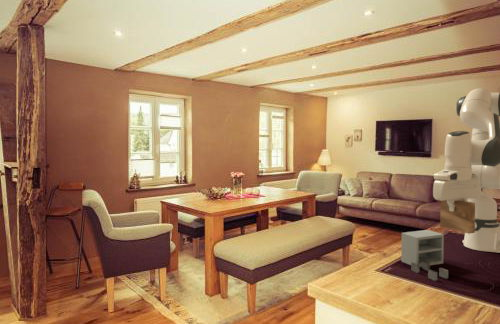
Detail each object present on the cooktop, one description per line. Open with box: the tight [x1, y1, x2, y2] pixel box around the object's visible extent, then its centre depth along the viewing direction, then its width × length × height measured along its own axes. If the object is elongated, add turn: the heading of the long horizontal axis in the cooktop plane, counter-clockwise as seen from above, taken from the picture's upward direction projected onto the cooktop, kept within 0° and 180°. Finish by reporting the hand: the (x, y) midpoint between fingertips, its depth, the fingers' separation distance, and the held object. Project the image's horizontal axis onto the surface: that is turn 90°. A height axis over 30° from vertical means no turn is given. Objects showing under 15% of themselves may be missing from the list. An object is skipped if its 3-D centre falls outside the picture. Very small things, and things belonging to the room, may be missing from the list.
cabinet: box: [400, 229, 445, 268], centre depth 141 cm, size 14×8×12 cm, turn 109°
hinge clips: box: [410, 261, 449, 282], centre depth 128 cm, size 6×11×3 cm, turn 19°
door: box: [439, 199, 475, 234], centre depth 129 cm, size 4×12×11 cm, turn 19°
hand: (457, 210), depth 129 cm, fingers closed on door, 3 cm apart
